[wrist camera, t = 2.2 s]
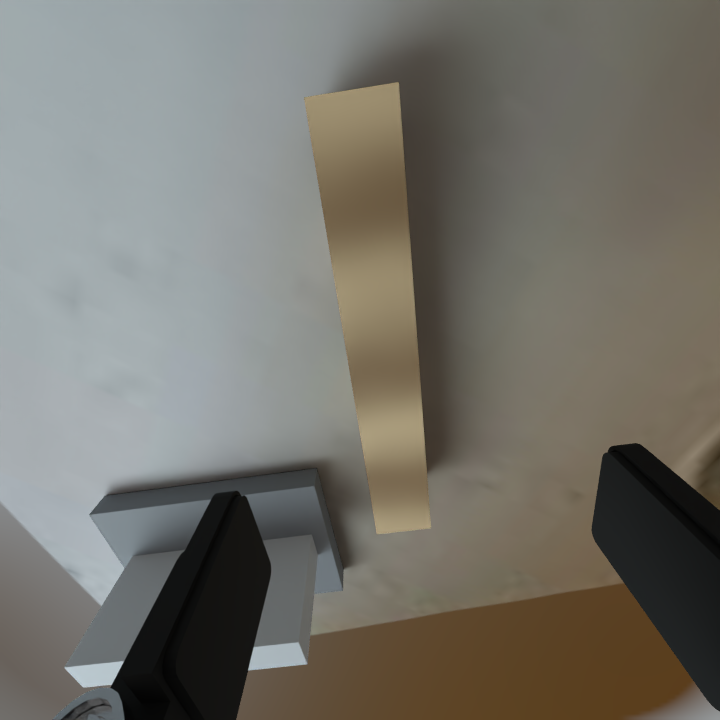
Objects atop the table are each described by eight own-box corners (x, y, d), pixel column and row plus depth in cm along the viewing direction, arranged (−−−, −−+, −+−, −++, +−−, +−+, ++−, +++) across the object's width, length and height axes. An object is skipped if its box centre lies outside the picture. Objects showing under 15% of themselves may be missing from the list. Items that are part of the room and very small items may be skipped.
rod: (316, 122, 15) (304, 97, 11) (387, 110, 15) (398, 81, 11) (373, 481, 23) (376, 534, 19) (418, 475, 23) (431, 528, 19)
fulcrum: (104, 496, 23) (-2, 623, 16) (316, 468, 22) (300, 588, 15) (163, 591, 27) (100, 724, 20) (343, 570, 26) (340, 700, 19)
